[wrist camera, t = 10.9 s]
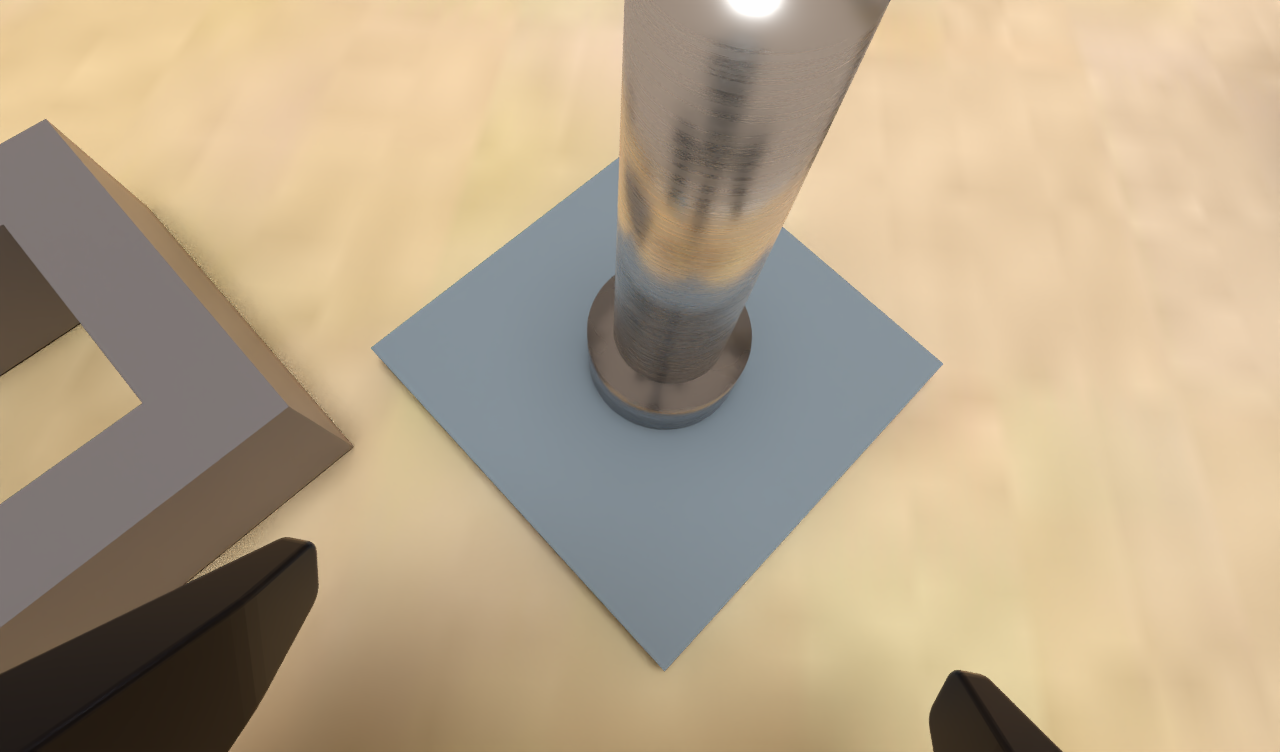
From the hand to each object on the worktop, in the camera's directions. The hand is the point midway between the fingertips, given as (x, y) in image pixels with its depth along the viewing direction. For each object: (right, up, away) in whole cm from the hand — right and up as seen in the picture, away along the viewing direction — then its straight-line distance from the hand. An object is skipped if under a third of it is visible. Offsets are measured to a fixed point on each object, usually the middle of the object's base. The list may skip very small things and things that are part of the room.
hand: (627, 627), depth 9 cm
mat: (+1, +4, +11) cm, 11 cm away
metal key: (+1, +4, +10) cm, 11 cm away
